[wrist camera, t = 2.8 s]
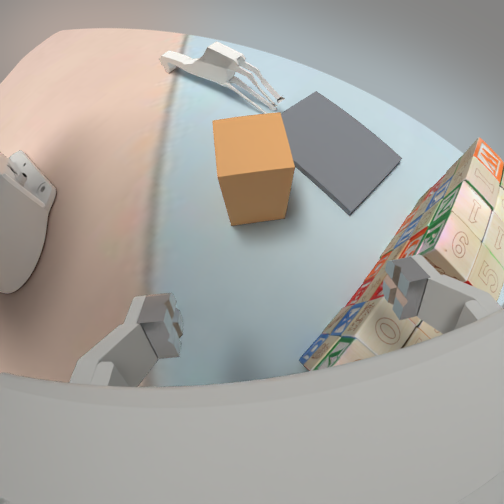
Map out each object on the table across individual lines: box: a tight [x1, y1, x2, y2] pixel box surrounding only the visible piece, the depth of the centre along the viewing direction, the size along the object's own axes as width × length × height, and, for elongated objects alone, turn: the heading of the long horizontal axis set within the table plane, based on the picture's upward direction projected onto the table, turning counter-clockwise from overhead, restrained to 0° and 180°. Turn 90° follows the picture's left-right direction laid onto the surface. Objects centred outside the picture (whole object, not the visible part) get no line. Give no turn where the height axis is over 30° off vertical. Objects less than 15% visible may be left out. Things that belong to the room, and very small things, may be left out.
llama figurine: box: [159, 42, 285, 114], centre depth 29 cm, size 2×11×18 cm
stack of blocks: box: [299, 137, 504, 371], centre depth 18 cm, size 21×6×12 cm, turn 137°
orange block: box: [213, 112, 295, 226], centre depth 23 cm, size 5×5×9 cm
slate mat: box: [281, 91, 402, 215], centre depth 28 cm, size 13×10×1 cm
